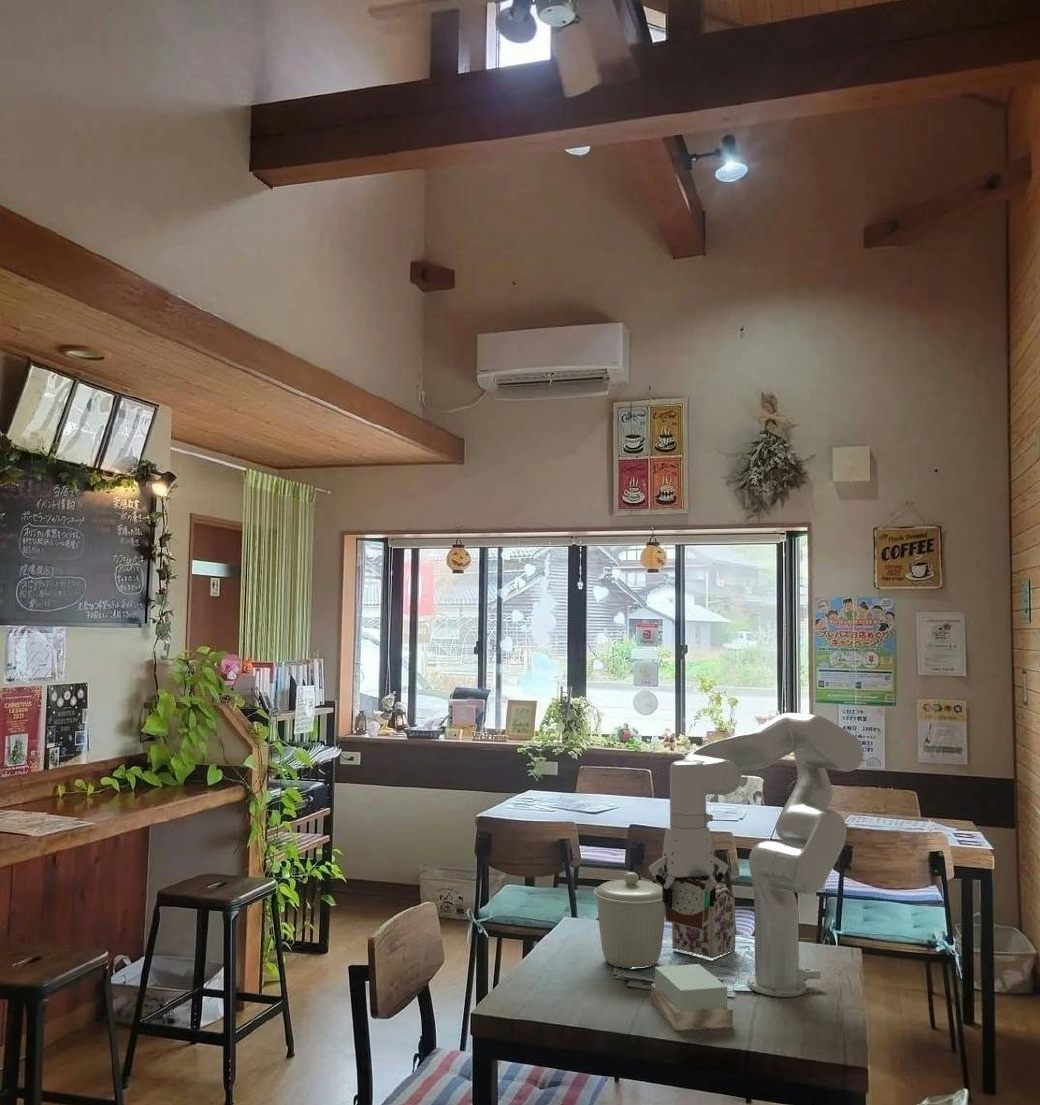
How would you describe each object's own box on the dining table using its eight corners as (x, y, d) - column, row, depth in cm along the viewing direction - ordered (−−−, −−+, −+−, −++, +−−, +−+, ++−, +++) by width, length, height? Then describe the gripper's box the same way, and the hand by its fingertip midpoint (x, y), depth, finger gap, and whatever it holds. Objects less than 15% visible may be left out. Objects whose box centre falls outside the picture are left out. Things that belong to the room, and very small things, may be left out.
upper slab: (698, 983, 211) (698, 964, 211) (727, 1007, 197) (727, 987, 198) (654, 986, 209) (655, 967, 209) (680, 1011, 195) (680, 990, 195)
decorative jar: (712, 963, 234) (712, 885, 236) (670, 952, 242) (670, 877, 243) (737, 951, 243) (736, 876, 245) (696, 941, 251) (695, 869, 252)
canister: (579, 957, 237) (579, 868, 239) (640, 946, 246) (640, 860, 248) (621, 981, 221) (621, 885, 223) (685, 968, 230) (684, 876, 232)
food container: (726, 925, 202) (725, 876, 203) (709, 932, 198) (707, 881, 199) (677, 913, 211) (676, 866, 212) (659, 919, 207) (658, 871, 207)
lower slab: (704, 1000, 212) (704, 981, 212) (732, 1030, 196) (732, 1009, 196) (650, 1003, 210) (651, 984, 210) (675, 1033, 194) (675, 1012, 194)
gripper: (721, 816, 211) (723, 899, 209) (643, 818, 208) (643, 902, 207) (734, 823, 203) (735, 909, 202) (652, 825, 201) (653, 912, 200)
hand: (689, 905), depth 205 cm, fingers closed on food container, 8 cm apart
